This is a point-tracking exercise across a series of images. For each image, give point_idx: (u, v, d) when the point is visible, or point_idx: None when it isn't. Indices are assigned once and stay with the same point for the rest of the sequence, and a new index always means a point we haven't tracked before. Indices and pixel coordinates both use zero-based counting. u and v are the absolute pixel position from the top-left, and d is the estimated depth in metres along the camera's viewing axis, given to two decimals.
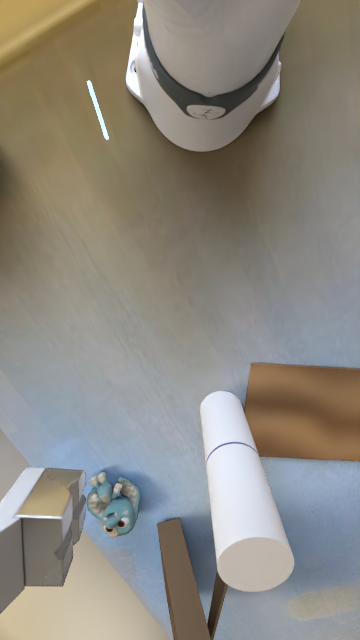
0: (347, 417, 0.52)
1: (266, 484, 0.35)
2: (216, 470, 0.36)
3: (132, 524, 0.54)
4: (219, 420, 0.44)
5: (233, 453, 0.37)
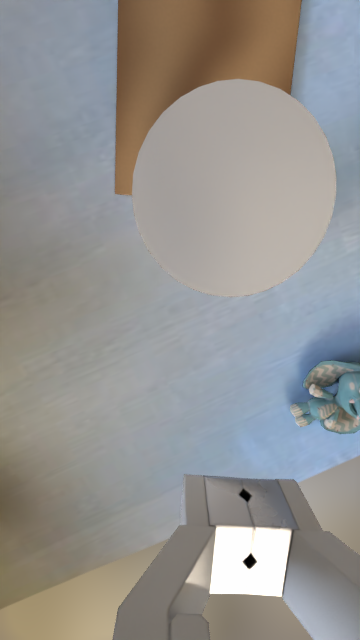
0: (209, 9, 0.30)
1: None
2: None
3: None
4: None
5: None
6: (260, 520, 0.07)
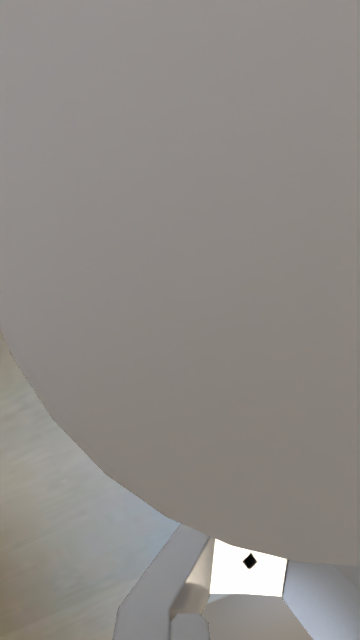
0: None
1: None
2: None
3: None
4: None
5: None
6: None
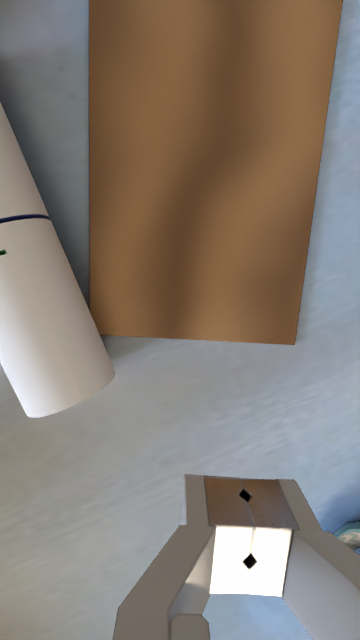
0: (208, 114, 0.23)
1: None
2: None
3: None
4: None
5: None
6: (260, 520, 0.07)
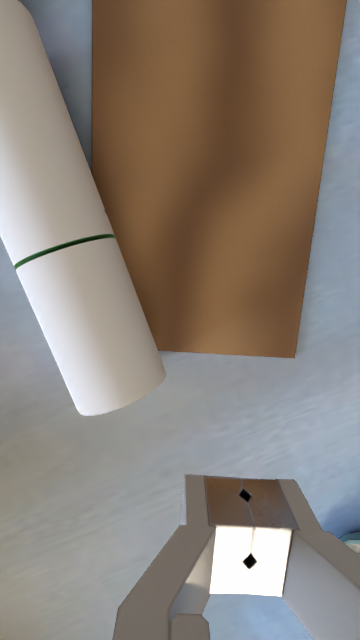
0: (210, 131, 0.23)
1: None
2: None
3: None
4: None
5: None
6: (260, 520, 0.07)
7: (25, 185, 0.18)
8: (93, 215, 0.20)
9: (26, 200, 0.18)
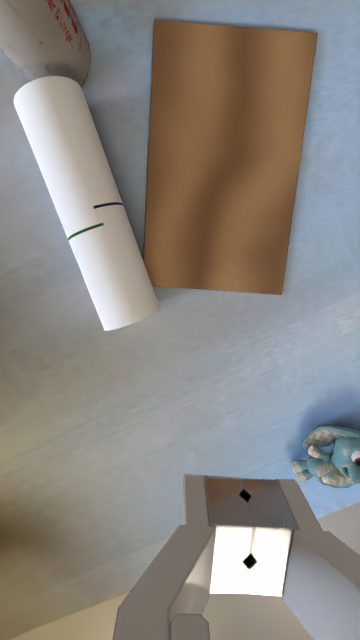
0: (226, 139, 0.36)
1: (97, 151, 0.32)
2: None
3: None
4: None
5: None
6: (260, 520, 0.07)
7: (54, 204, 0.33)
8: (79, 217, 0.32)
9: (57, 212, 0.34)
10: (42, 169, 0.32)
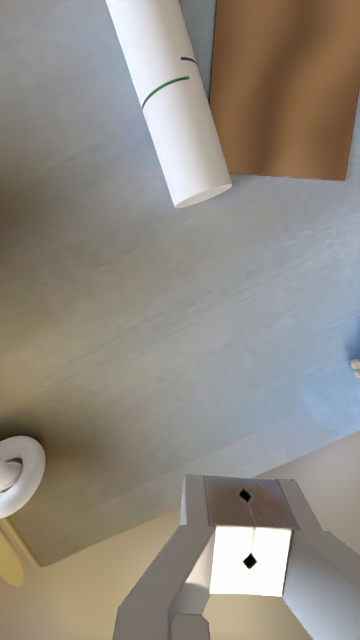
0: (294, 10, 0.35)
1: (180, 7, 0.32)
2: None
3: None
4: None
5: None
6: (260, 520, 0.07)
7: (132, 61, 0.32)
8: (165, 67, 0.31)
9: (134, 70, 0.32)
10: (124, 17, 0.31)
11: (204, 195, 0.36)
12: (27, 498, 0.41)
